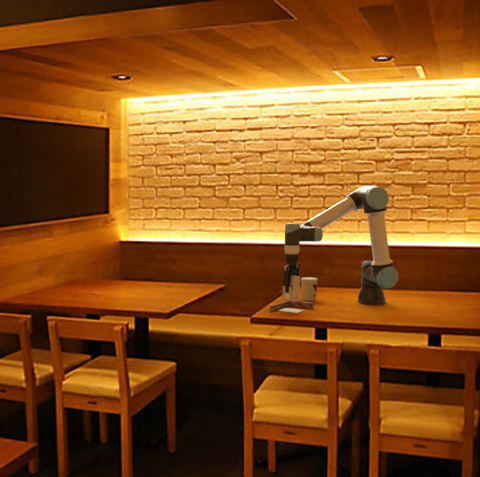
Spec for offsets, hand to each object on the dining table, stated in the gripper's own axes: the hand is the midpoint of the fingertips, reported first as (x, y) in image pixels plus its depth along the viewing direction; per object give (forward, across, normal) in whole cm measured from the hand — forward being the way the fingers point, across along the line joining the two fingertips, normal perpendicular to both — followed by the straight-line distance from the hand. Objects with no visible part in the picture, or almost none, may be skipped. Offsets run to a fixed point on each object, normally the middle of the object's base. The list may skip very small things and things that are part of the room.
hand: (290, 298), depth 351 cm
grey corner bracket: (+7, -2, 0) cm, 7 cm away
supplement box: (+2, 0, 0) cm, 2 cm away
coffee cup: (+7, -34, -7) cm, 36 cm away
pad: (+7, 0, 0) cm, 7 cm away
